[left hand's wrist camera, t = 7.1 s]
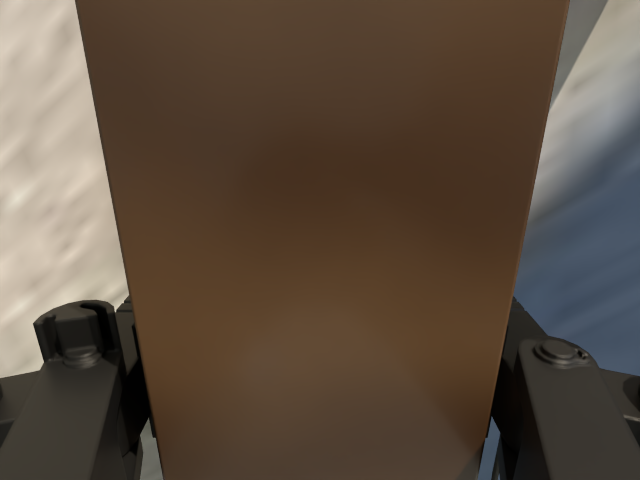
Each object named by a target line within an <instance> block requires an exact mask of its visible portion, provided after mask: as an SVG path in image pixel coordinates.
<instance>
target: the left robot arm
mask: <svg viewBox="0 0 640 480" xmlns="http://www.w3.org/2000/svg"><path fill="white" fill-rule="evenodd" d="M33 325H34V329H35V332H36V336H37V339H38V343H39V346H40V350H41V353H42V356H43V360H44V363H43V365H42V367H41V369H40V370H39V371H35V372H30V373H25V374H20V375H15V376H10V377H5V378H0V480H140V474H141V466H142V458H143V449H142V443H141V438H140V434H141V432H142V430H143V428H144V426H145V424H146V422H147V420H148V418H149V420H150V426H151V431H152V436H153V438H156V436H155V431H154V425H153V420H152V414H151V409H150V404H149V398H148V393H147V387H146V382H145V376H144V371H143V366H142V360H141V355H140V349H139V344H138V339H137V333H136V328H135V322H134V317H133V312H132V306H131V301H130V295H129V296H128V297H127V298H126V300H125V301H124V303H122V304H121V305H120V306H119V308H118V309H117V310H116V312H115V311H114V306H112V305H111V304H110V303H108V302H105V301H100V300H83V301H78V302H73V303H68V304H65V305H62V306H59V307H57V308H54V309H52V310H50V311H48V312H47V313H45V314H43V315H41V316H40V317H39V318H38V319H37V320H36V321H35V322H34V323H33ZM491 417H493V419H494V421H495V423H496V425H497V427H498V429H499V431H500V438H499V443H498V447H497V452H496V457H495V462H494V467H493V472H492V479H491V480H498V475H499V473H500V480H640V376H635V375H630V374H625V373H620V372H614V371H609V370H605V369H601V368H599V367H598V365H597V363H596V361H595V360H594V359H593V357H592V356H591V355H590V354H589V353H588V352H587V351H585V350H584V349H582V348H581V347H579V346H578V345H575V344H573V343H571V342H568V341H566V340H564V339H560V338H555V337H551V336H548V335H547V334H546V333H545V332H544V331H543V330H542V328H541V327H540V326H539V325H538V324H537V323H536V322H535V320H534V319H533V318H532V317H531V316H530V315H529V313H528V312H527V311H524V308H523V307H522V305H521V304H520V303H519V302H517V301H516V299H515V297H514V296H513V298H512V303H511V308H510V313H509V318H508V324H507V329H506V334H505V339H504V344H503V350H502V355H501V360H500V365H499V370H498V375H497V381H496V386H495V391H494V396H493V401H492V407H491V412H490V417H489V422H488V427H487V432H486V438H487V437H488V432H489V427H490V422H491Z"/></svg>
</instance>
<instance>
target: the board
mask: <svg viewBox="0 0 640 480" xmlns="http://www.w3.org/2000/svg"><path fill="white" fill-rule="evenodd" d="M75 3H76V8H77V14H78V19H79V25H80V30H81V35H82V41H83V46H84V52H85V57H86V63H87V68H88V73H89V79H90V84H91V90H92V95H93V100H94V106H95V111H96V117H97V122H98V127H99V133H100V138H101V144H102V149H103V155H104V160H105V165H106V171H107V176H108V182H109V187H110V192H111V198H112V203H113V209H114V214H115V220H116V225H117V230H118V236H119V241H120V247H121V252H122V257H123V263H124V268H125V274H126V279H127V284H128V290H129V295H130V301H131V306H132V312H133V317H134V322H135V328H136V333H137V339H138V344H139V349H140V355H141V360H142V366H143V371H144V376H145V382H146V387H147V393H148V398H149V404H150V409H151V414H152V420H153V425H154V431H155V436H156V441H157V447H158V452H159V458H160V463H161V468H162V474H163V479H164V480H477V479H478V474H479V469H480V463H481V458H482V453H483V448H484V443H485V438H486V432H487V427H488V422H489V417H490V412H491V407H492V401H493V396H494V391H495V386H496V381H497V375H498V370H499V365H500V360H501V355H502V350H503V344H504V339H505V334H506V329H507V324H508V318H509V313H510V308H511V303H512V298H513V293H514V287H515V282H516V277H517V272H518V267H519V262H520V256H521V251H522V246H523V241H524V236H525V230H526V225H527V220H528V215H529V210H530V205H531V199H532V194H533V189H534V184H535V179H536V174H537V168H538V163H539V158H540V153H541V148H542V142H543V137H544V132H545V127H546V122H547V117H548V111H549V106H550V101H551V96H552V91H553V86H554V80H555V75H556V70H557V65H558V60H559V54H560V49H561V44H562V39H563V34H564V29H565V23H566V18H567V13H568V8H569V3H570V0H75Z"/></svg>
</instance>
